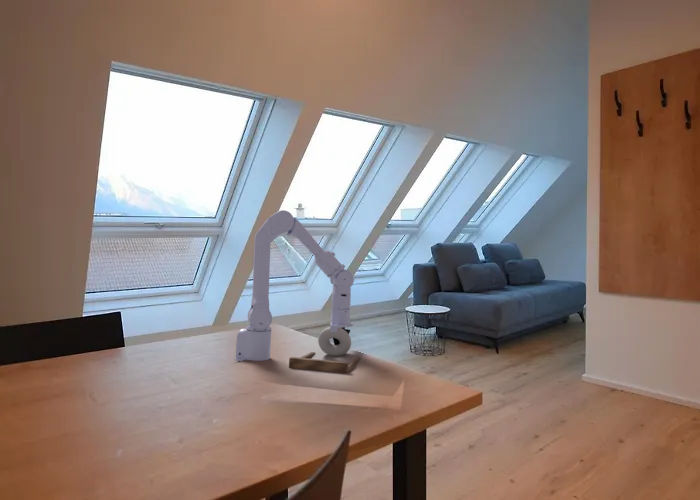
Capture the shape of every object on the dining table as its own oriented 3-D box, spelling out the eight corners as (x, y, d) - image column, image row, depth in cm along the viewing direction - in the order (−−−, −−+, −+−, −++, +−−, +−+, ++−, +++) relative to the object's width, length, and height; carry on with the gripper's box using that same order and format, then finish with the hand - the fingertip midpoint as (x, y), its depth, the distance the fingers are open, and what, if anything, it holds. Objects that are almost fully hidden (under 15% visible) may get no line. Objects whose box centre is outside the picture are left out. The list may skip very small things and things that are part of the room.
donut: (351, 354, 144) (353, 326, 140) (349, 361, 141) (351, 333, 137) (319, 349, 146) (319, 322, 141) (316, 356, 143) (317, 328, 138)
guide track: (288, 367, 127) (289, 357, 127) (311, 356, 145) (311, 347, 145) (346, 373, 123) (346, 363, 123) (362, 360, 141) (362, 352, 141)
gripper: (347, 311, 137) (345, 358, 137) (359, 307, 151) (357, 350, 151) (324, 309, 139) (322, 356, 139) (337, 306, 153) (336, 348, 153)
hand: (339, 353), depth 145 cm, fingers closed
